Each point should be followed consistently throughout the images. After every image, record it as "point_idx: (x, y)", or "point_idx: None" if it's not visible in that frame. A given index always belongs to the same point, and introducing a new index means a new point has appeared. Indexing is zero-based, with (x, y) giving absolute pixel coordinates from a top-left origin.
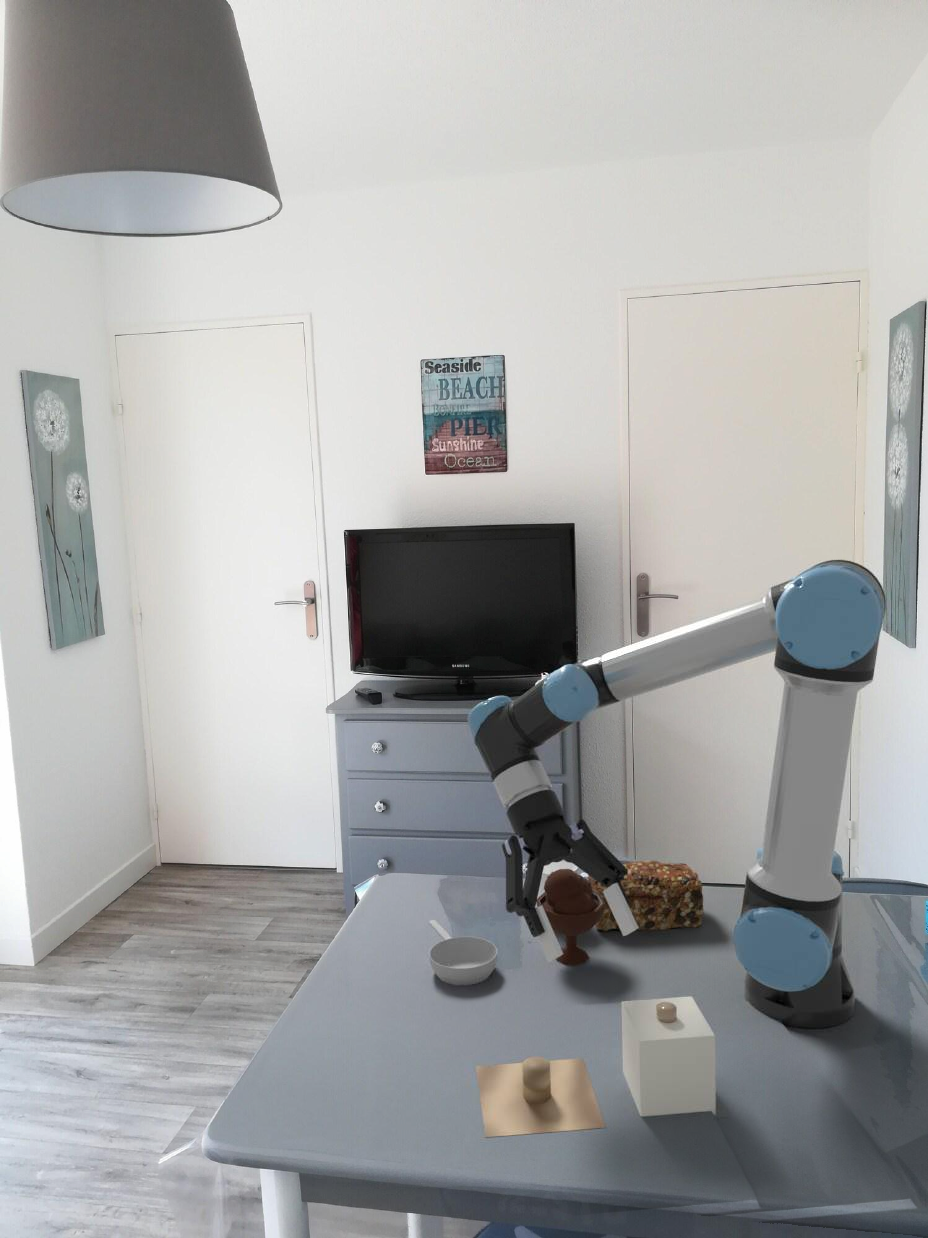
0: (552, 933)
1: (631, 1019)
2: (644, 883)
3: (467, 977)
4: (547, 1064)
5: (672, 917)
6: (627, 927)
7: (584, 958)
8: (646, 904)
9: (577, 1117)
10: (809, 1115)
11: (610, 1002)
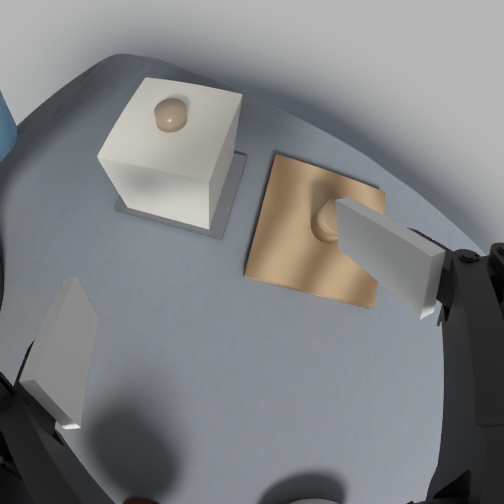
0: (373, 217)
1: (223, 134)
2: None
3: (317, 499)
4: (328, 207)
5: None
6: (83, 303)
7: (131, 502)
8: None
9: (297, 176)
10: (86, 126)
11: (136, 403)
